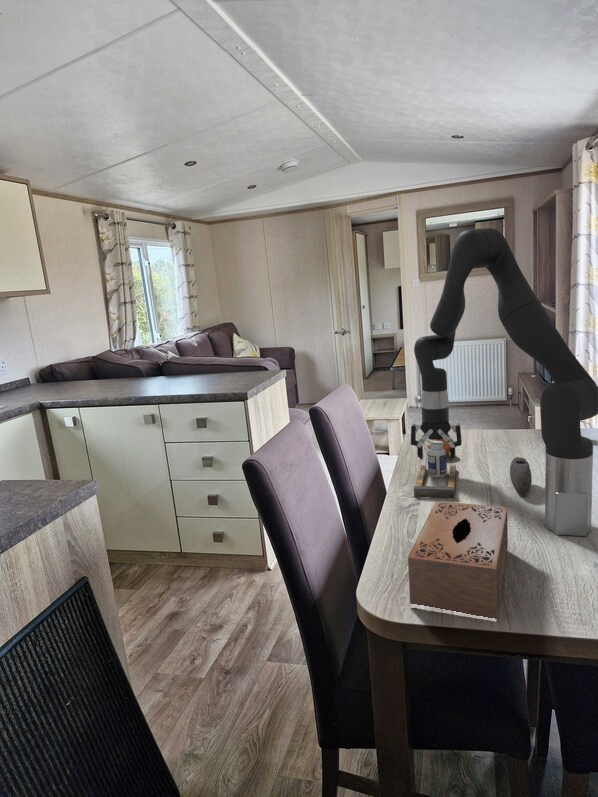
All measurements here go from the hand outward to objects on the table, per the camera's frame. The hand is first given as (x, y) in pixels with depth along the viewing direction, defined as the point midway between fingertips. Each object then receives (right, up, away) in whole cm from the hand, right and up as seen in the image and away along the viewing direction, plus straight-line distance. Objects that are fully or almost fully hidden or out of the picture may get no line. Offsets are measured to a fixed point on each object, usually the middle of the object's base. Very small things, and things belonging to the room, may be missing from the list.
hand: (436, 459), depth 160 cm
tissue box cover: (-9, -17, -55) cm, 58 cm away
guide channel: (-2, -6, -6) cm, 9 cm away
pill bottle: (+1, -5, +1) cm, 5 cm away
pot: (+6, -1, +17) cm, 18 cm away
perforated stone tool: (+19, -7, -15) cm, 25 cm away
